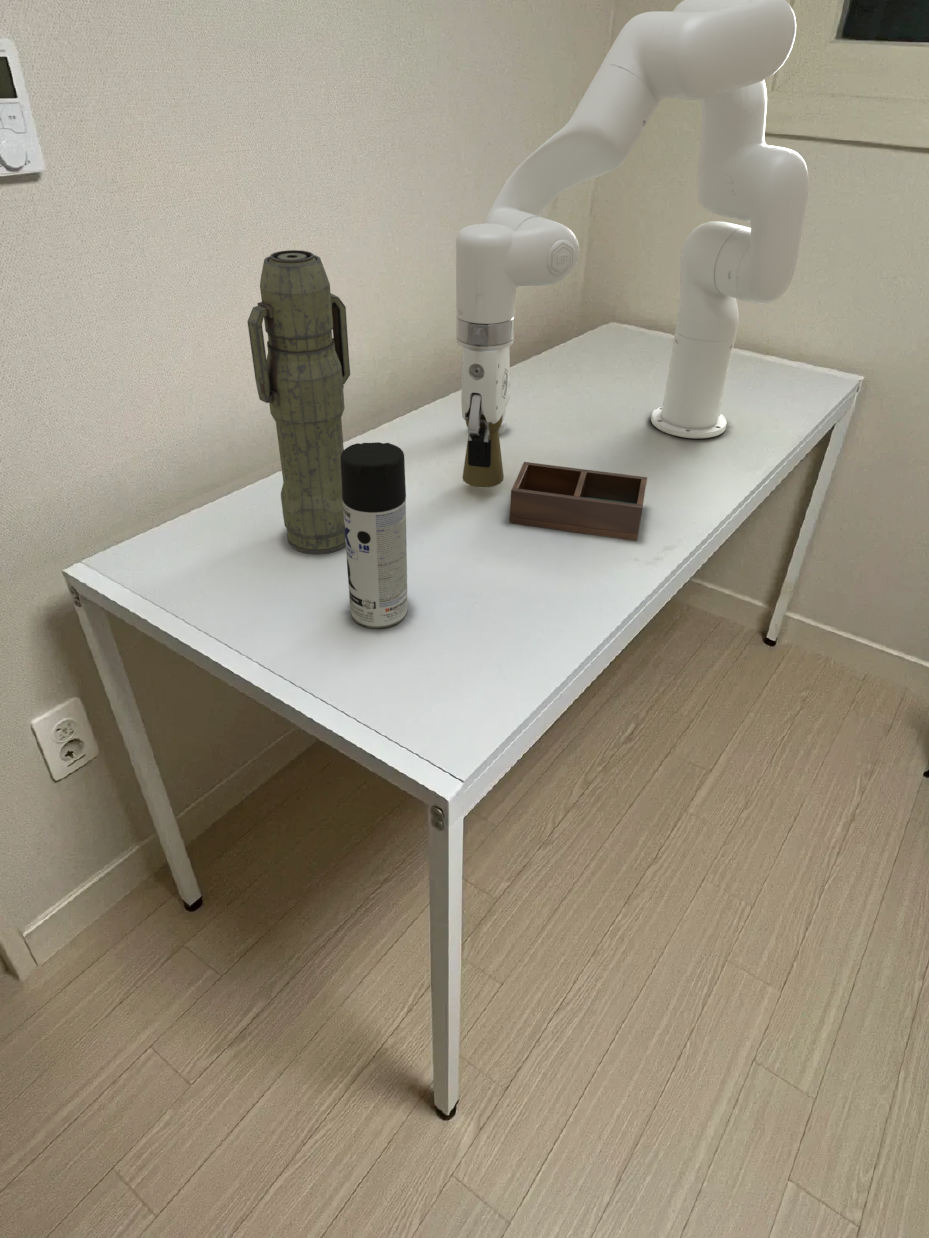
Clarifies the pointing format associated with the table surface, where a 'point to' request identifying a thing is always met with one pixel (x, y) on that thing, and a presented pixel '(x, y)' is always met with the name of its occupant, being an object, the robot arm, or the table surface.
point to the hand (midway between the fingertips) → (483, 457)
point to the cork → (495, 472)
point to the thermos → (304, 392)
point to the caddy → (578, 500)
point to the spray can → (375, 532)
